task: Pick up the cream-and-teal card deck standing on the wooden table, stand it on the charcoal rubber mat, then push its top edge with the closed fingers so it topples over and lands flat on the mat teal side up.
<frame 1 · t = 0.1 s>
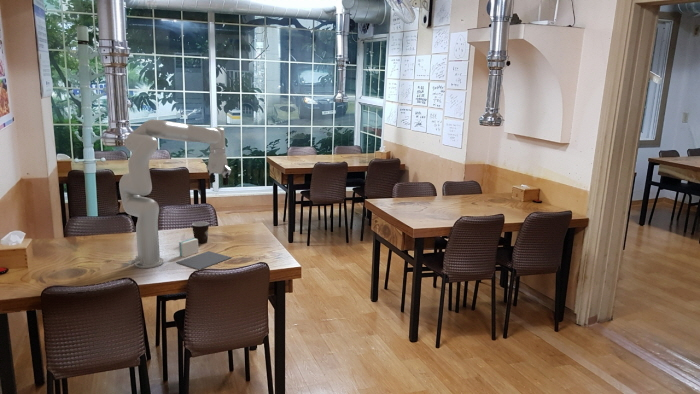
hand: (219, 183, 273), 31 cm above the table, fingers open, 9 cm apart
card deck: (189, 254, 258), on the table
mat: (204, 260, 249), on the table
coffee mug: (203, 241, 278), on the table
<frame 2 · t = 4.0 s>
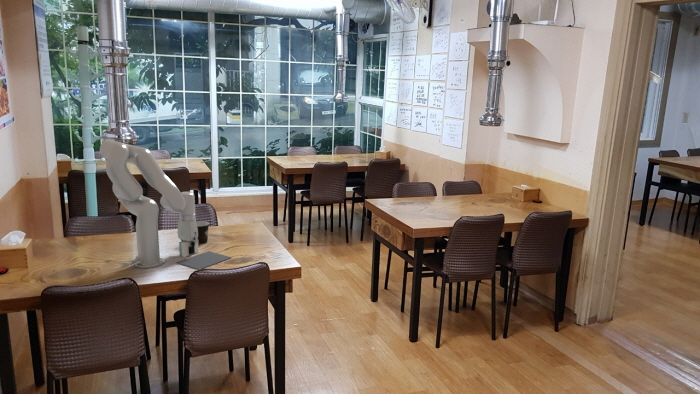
hand: (189, 252, 258), 1 cm above the table, fingers closed on card deck, 3 cm apart
card deck: (189, 254, 258), on the table, touching gripper
everything else where it was.
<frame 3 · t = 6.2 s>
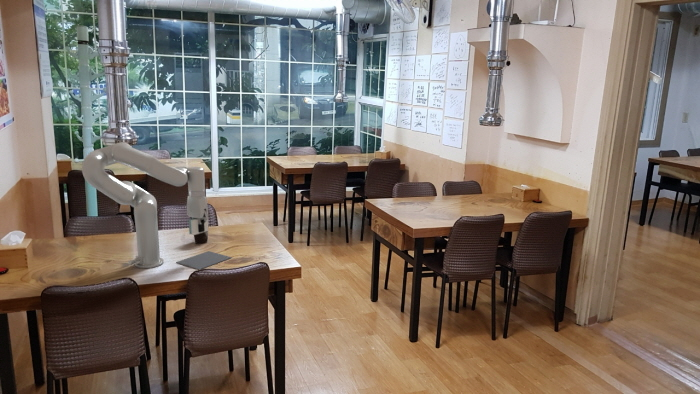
hand: (198, 230, 248), 14 cm above the table, fingers closed on card deck, 3 cm apart
card deck: (199, 232, 248), point 14 cm above the table, touching gripper
everything else where it was.
when the fingers open (2 cm above the table, at t = 8.5 s): card deck stays where it is, resting on mat.
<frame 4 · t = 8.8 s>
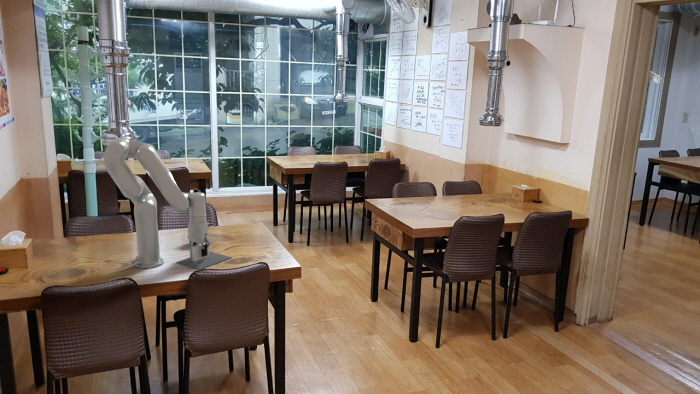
hand: (199, 254, 250), 2 cm above the table, fingers open, 6 cm apart
card deck: (199, 258, 251), resting on mat
everything else where it was.
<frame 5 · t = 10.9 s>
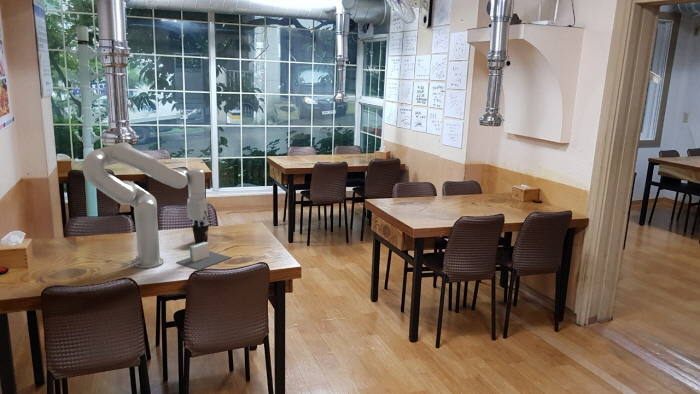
hand: (198, 233, 248), 13 cm above the table, fingers closed
nothing on the table moved.
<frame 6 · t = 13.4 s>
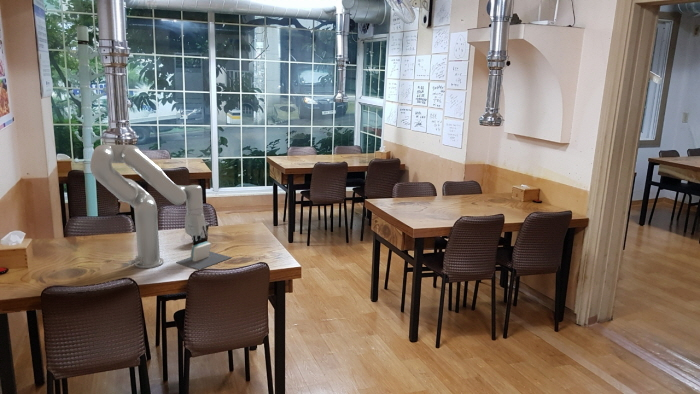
hand: (197, 247, 251), 5 cm above the table, fingers closed
card deck: (199, 257, 251), point 1 cm above the table, tilted 13°, touching mat
everything else where it was.
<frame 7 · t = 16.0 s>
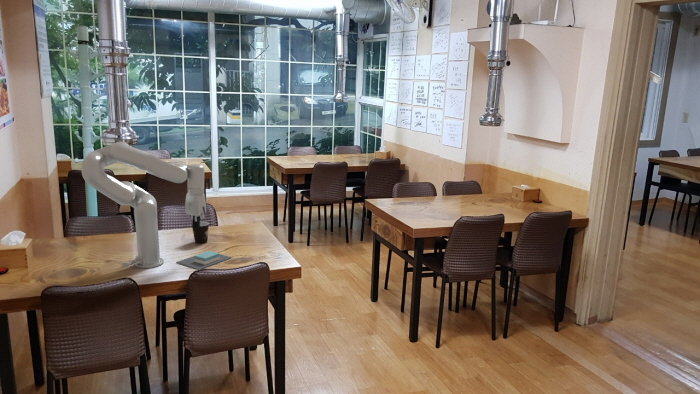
hand: (196, 228, 247), 15 cm above the table, fingers closed
card deck: (202, 256, 250), point 2 cm above the table, tilted 90°, touching mat
everything else where it was.
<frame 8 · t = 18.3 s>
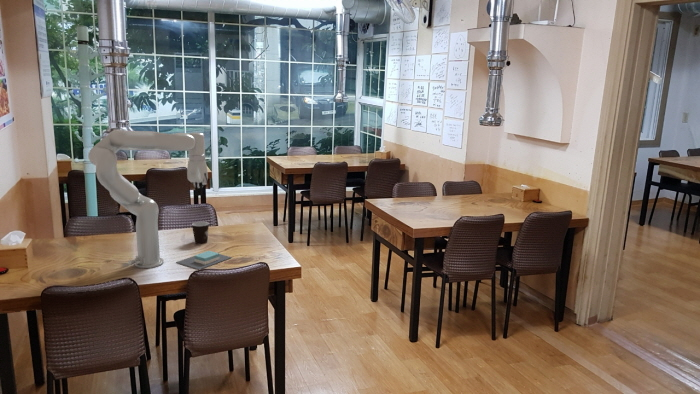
hand: (198, 195, 255), 29 cm above the table, fingers closed
nothing on the table moved.
at the end: card deck tilted 90°; card deck inside the target area on the mat (1.5 cm from its centre), point 1.9 cm above the mat's base; the gripper is holding nothing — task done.
